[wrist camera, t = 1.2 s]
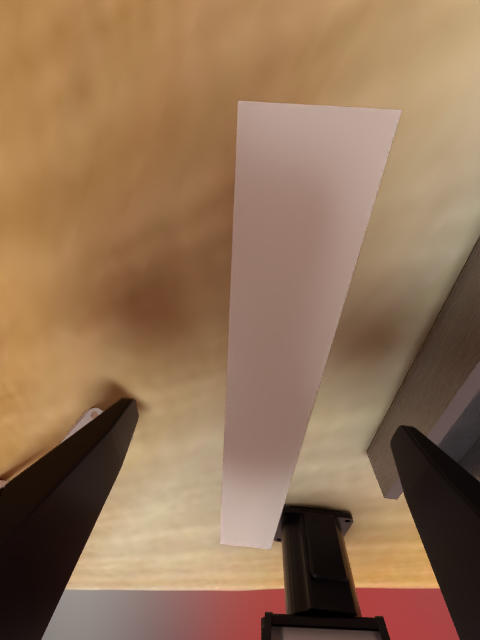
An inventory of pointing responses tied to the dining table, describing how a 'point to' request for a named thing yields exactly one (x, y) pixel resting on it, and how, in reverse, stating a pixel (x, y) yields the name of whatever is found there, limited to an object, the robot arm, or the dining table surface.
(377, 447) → the rack
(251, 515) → the panel
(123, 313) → the dining table surface
